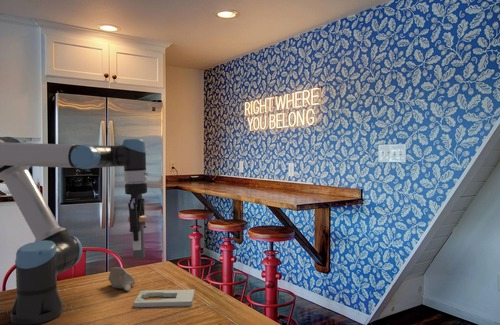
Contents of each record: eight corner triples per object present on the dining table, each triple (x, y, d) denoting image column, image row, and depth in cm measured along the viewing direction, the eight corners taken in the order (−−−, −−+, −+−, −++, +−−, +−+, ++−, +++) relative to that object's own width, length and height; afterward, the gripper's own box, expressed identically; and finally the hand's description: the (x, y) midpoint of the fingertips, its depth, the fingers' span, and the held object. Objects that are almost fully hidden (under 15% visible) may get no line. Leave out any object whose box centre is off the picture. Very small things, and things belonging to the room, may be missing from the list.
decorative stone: (121, 294, 149) (120, 272, 149) (106, 284, 160) (106, 264, 160) (141, 289, 154) (141, 268, 154) (126, 280, 165) (125, 260, 165)
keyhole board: (133, 307, 136) (133, 302, 136) (141, 294, 148) (141, 290, 148) (191, 305, 137) (191, 301, 137) (194, 293, 149) (194, 289, 149)
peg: (127, 260, 137) (125, 218, 136) (132, 255, 143) (130, 215, 143) (146, 259, 137) (144, 217, 136) (150, 254, 143) (148, 214, 143)
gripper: (140, 184, 131) (143, 253, 131) (151, 180, 148) (154, 242, 148) (117, 185, 131) (121, 254, 131) (131, 181, 148) (134, 243, 148)
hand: (138, 248), depth 140 cm, fingers closed on peg, 4 cm apart
